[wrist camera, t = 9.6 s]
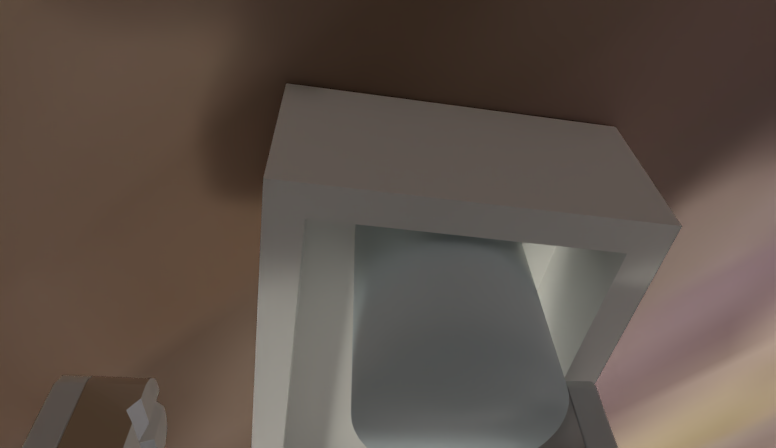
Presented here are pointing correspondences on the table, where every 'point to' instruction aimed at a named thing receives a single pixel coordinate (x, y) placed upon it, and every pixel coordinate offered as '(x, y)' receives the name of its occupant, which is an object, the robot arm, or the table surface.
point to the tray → (442, 196)
